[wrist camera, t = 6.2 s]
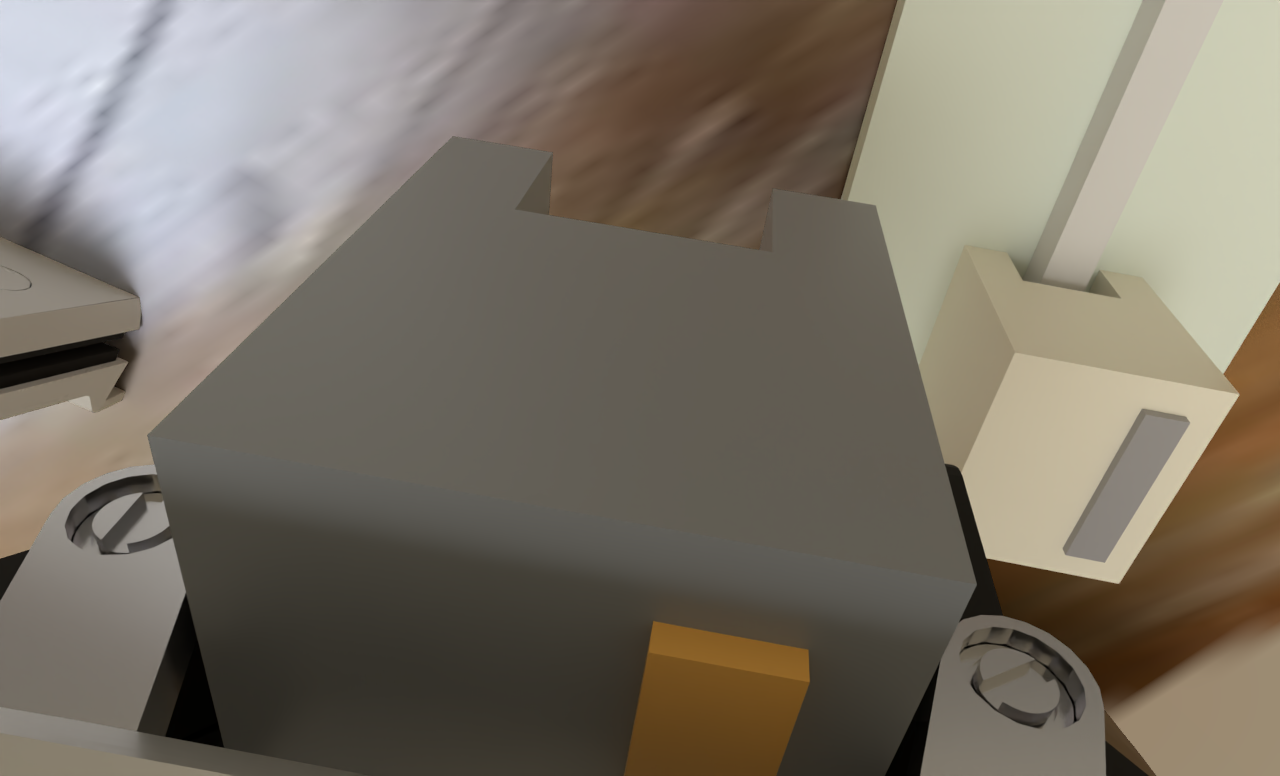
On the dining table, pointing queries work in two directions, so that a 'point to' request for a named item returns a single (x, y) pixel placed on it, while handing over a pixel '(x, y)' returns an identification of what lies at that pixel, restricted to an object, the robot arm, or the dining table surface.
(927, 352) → the cream module
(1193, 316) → the panel
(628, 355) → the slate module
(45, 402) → the off-white grooved curved block
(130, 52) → the dining table surface
